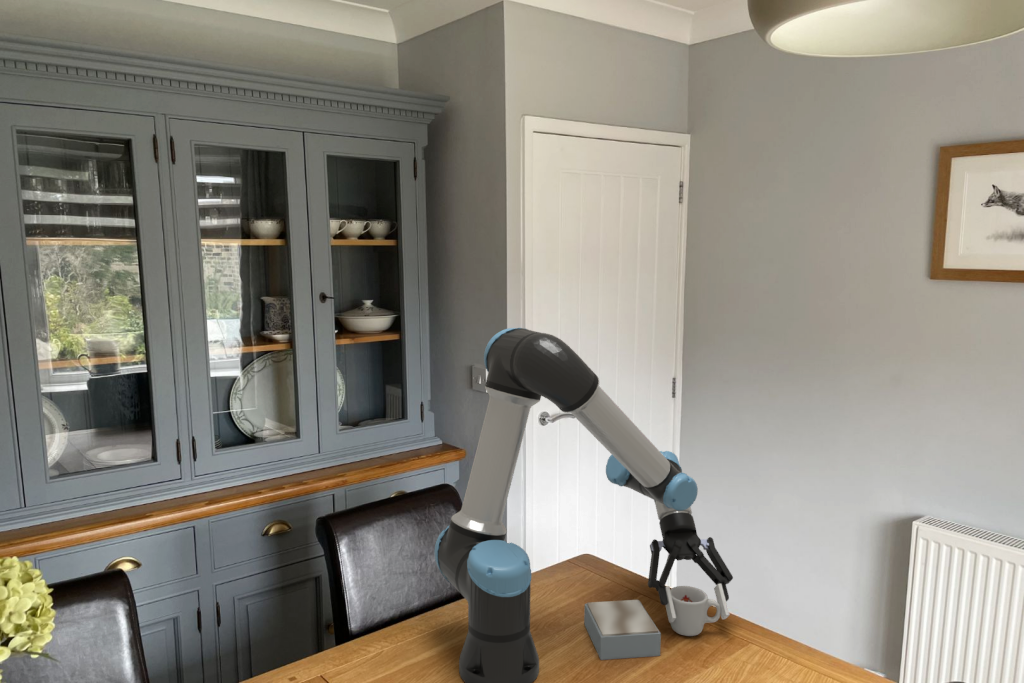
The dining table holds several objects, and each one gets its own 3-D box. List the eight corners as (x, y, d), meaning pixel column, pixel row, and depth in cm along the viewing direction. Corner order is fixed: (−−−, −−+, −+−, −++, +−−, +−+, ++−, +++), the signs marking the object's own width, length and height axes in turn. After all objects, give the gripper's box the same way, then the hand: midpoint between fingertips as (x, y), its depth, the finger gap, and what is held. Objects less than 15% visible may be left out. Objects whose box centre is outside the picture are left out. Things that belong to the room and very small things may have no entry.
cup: (716, 622, 159) (718, 587, 158) (723, 642, 151) (725, 605, 150) (665, 619, 160) (666, 584, 159) (669, 638, 152) (670, 601, 151)
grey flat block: (600, 659, 145) (601, 635, 144) (584, 624, 158) (584, 601, 158) (660, 655, 146) (660, 631, 145) (638, 620, 160) (639, 598, 159)
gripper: (719, 523, 170) (746, 621, 156) (621, 527, 167) (640, 627, 153) (730, 508, 164) (759, 609, 150) (628, 512, 161) (649, 615, 147)
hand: (699, 618), depth 152 cm, fingers closed on cup, 11 cm apart
